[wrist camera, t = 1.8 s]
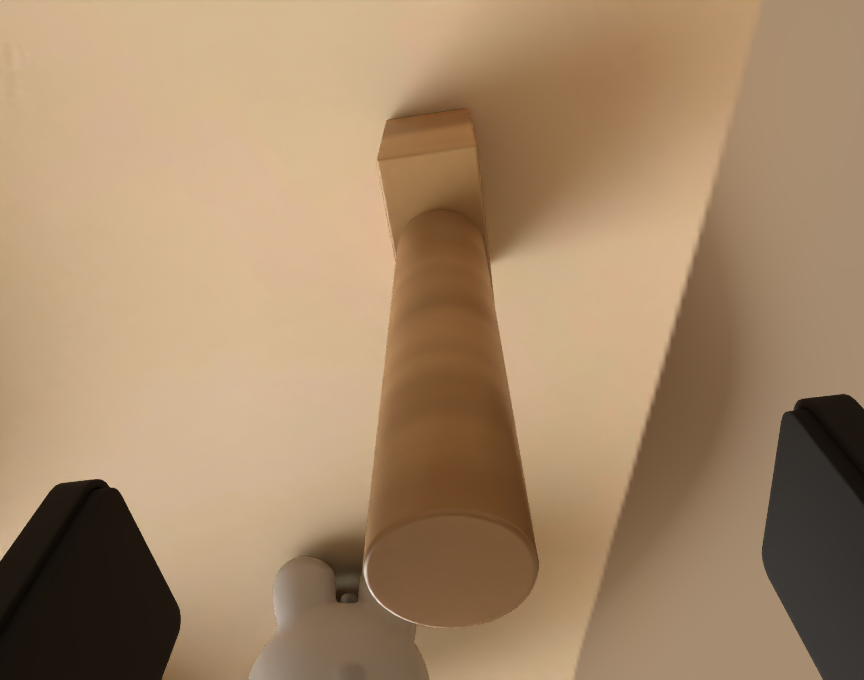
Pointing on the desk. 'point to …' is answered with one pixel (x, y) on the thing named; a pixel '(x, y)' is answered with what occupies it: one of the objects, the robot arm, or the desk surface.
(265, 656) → the chubby cartoon animal
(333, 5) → the desk surface
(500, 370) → the wooden stamp
